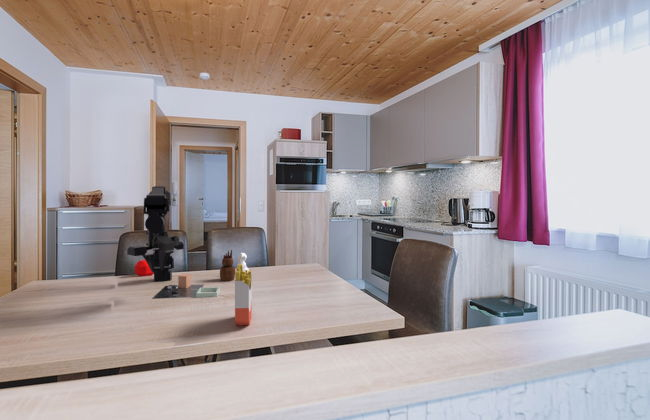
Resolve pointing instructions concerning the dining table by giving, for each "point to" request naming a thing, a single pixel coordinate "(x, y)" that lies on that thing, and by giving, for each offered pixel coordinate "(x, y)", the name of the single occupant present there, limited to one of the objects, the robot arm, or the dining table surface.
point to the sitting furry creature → (242, 261)
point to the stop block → (184, 281)
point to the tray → (208, 289)
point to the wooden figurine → (227, 268)
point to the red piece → (143, 269)
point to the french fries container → (243, 296)
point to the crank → (173, 289)
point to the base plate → (182, 292)
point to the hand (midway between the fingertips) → (157, 271)
